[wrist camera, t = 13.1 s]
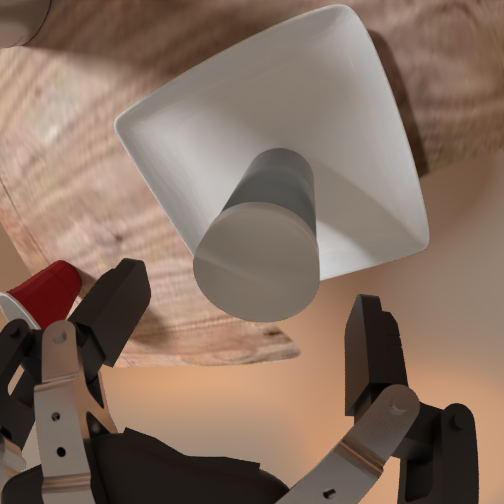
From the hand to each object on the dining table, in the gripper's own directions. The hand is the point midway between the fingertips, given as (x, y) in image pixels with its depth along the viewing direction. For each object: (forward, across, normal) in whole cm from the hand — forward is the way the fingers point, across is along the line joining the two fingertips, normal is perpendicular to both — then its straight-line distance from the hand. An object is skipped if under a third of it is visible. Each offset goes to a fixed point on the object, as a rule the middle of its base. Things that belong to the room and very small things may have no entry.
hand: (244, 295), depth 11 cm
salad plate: (+17, 0, 0) cm, 17 cm away
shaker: (+13, 0, +1) cm, 13 cm away
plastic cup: (+16, +30, +18) cm, 39 cm away
